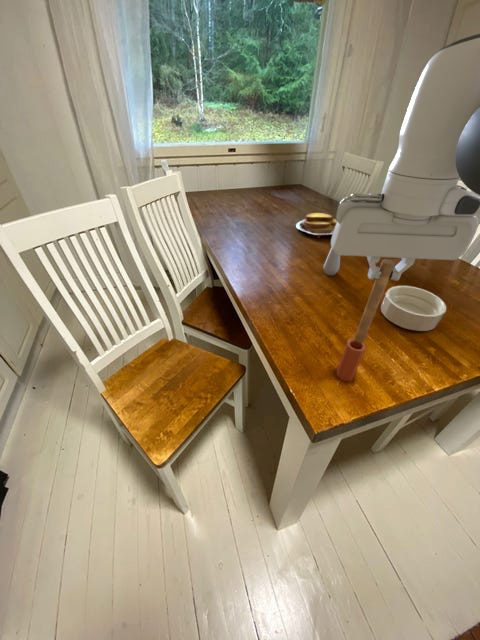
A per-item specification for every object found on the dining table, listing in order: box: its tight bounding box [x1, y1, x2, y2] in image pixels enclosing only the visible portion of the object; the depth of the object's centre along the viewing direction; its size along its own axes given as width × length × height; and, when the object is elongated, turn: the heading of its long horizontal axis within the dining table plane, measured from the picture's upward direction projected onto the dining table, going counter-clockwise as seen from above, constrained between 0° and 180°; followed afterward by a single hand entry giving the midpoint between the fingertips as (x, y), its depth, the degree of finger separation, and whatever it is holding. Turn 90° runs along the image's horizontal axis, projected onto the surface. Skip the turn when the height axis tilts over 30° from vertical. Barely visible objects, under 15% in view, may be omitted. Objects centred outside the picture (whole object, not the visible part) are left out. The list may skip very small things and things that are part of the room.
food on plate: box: [295, 212, 337, 239], centre depth 136 cm, size 25×25×7 cm
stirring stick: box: [353, 259, 395, 343], centre depth 52 cm, size 2×2×18 cm
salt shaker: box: [323, 247, 341, 276], centre depth 99 cm, size 6×6×13 cm
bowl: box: [380, 285, 447, 332], centre depth 81 cm, size 16×16×6 cm
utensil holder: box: [336, 338, 367, 382], centre depth 62 cm, size 4×4×10 cm
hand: (382, 278), depth 48 cm, fingers closed on stirring stick, 2 cm apart
